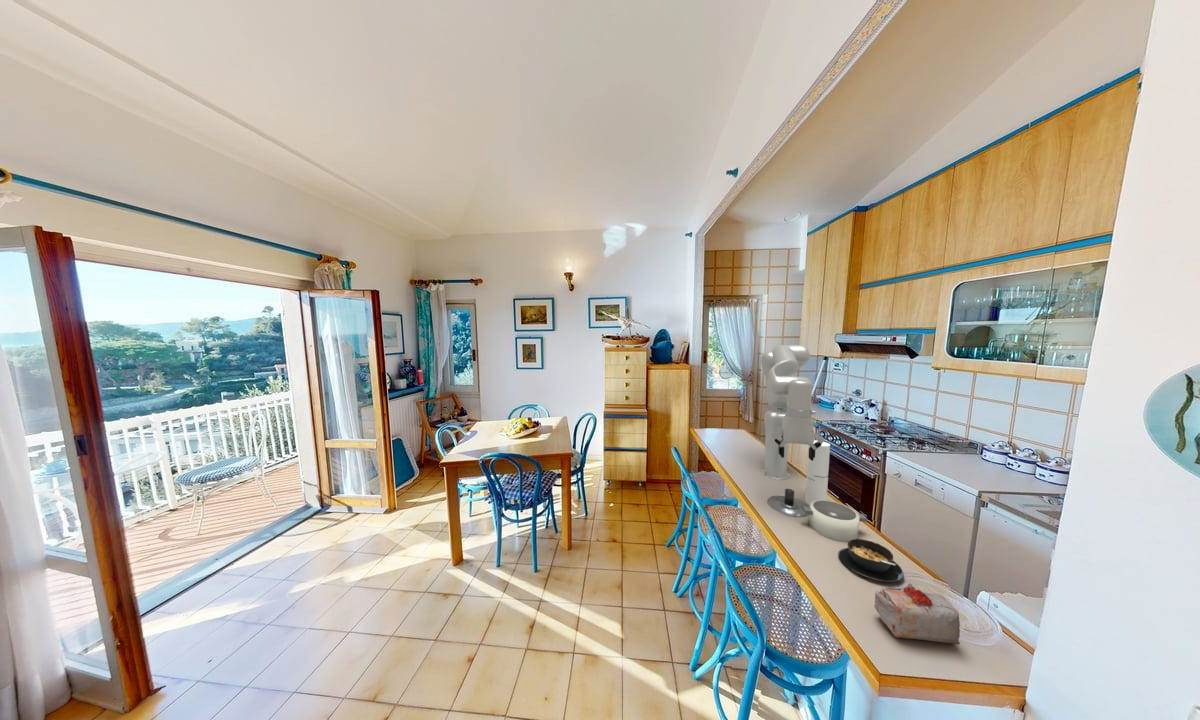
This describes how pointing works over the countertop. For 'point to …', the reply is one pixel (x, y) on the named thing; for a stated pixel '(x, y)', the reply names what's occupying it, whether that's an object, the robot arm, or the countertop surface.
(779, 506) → the lid
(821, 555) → the countertop surface
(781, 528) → the countertop surface
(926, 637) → the food item
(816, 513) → the pot
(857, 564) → the soup bowl
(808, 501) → the cylindrical container
